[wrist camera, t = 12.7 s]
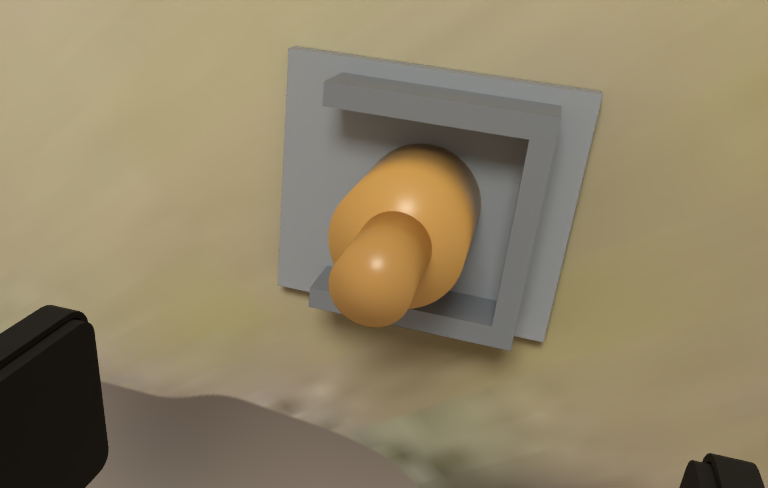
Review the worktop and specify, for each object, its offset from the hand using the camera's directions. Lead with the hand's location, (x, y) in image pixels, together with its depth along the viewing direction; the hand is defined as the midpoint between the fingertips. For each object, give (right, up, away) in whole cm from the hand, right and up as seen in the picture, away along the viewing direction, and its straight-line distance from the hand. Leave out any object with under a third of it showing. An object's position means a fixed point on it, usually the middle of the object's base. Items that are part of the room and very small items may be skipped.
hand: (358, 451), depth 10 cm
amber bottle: (+2, +5, +26) cm, 27 cm away
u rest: (+3, +6, +27) cm, 28 cm away
